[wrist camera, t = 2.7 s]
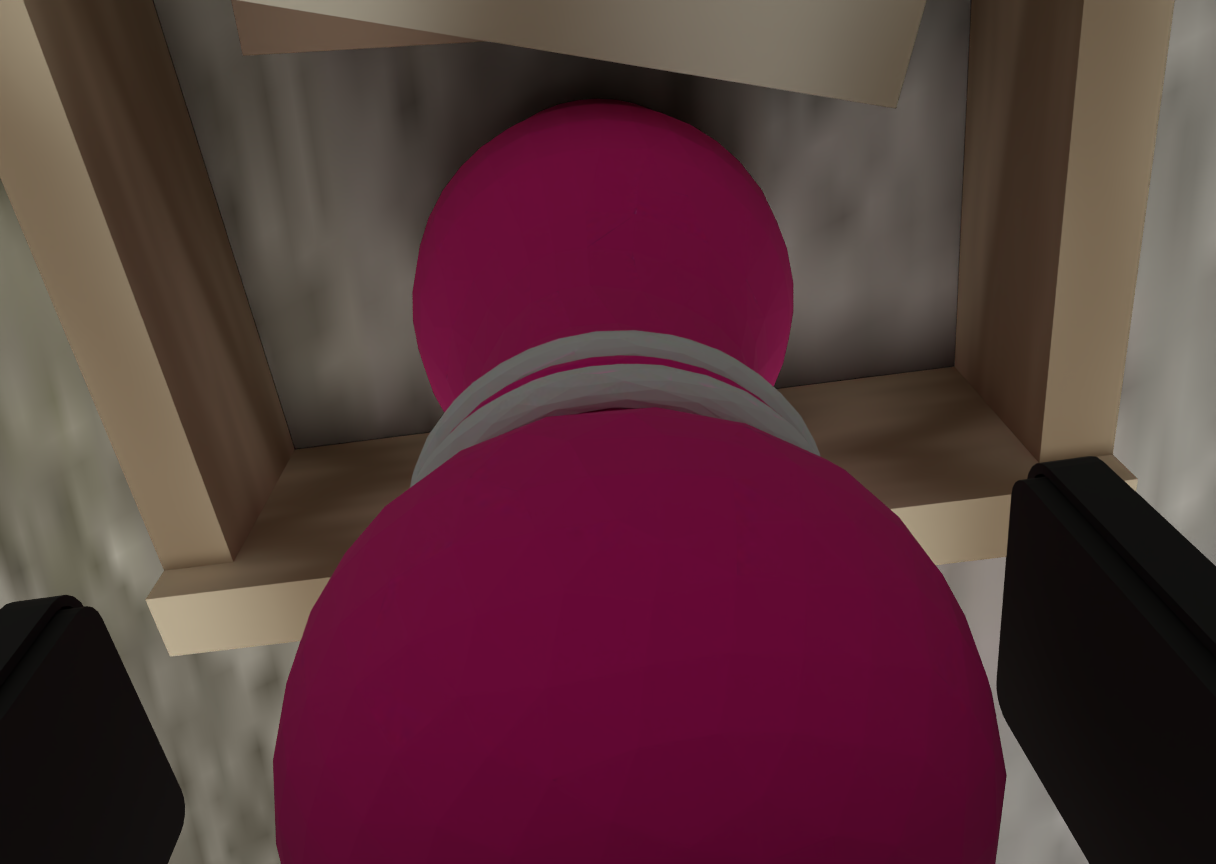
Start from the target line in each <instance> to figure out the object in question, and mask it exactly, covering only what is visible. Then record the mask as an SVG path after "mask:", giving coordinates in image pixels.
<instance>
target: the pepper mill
mask: <svg viewBox="0 0 1216 864" xmlns="http://www.w3.org/2000/svg"><path fill="white" fill-rule="evenodd" d="M792 316H793V279H792V273H791V268H790V262H789V257H788V252H787V247H786V245H785V242H784V239H783V237H782V234H781V231H780V229H779V226H778V223H777V221H776V219H775V217H774V215H773V213H772V210H771V208H770V206H769V204H768V202H767V200H766V198H765V196H764V194H763V192H762V190H761V188H760V187H759V186H758V185H757V183H756V182H755V181H754V179H753V178H752V177H751V176H750V174H749V173H748V172H747V170H746V169H745V168H744V167H743V165H742V164H741V163H740V162H739V161H738V160H737V159H736V158H735V157H734V156H733V155H732V154H731V153H729V152H728V151H727V150H726V149H725V148H724V147H723V146H722V145H721V144H719V143H718V142H717V141H716V140H714V139H712V138H711V137H709V136H708V135H706V134H704V133H703V132H701V131H700V130H698V129H696V128H695V127H693V126H692V125H690V124H688V123H685V122H683V121H680V120H678V119H675V118H673V117H670V116H668V115H665V114H663V113H660V112H657V111H653V110H652V109H649V108H646V107H643V106H640V105H637V104H634V103H629V102H625V101H620V100H612V99H586V100H576V101H572V102H567V103H562V104H559V105H556V106H553V107H551V108H548V109H545V110H543V111H540V112H538V113H537V114H535V115H533V116H531V117H529V118H527V119H526V120H524V121H522V122H520V123H517V124H516V125H514V126H512V127H510V128H508V129H507V130H505V131H504V132H502V133H501V134H499V135H498V136H496V137H495V138H494V139H492V140H491V141H489V142H488V143H486V144H485V145H483V146H482V147H481V148H480V149H479V150H478V151H477V152H476V153H475V154H473V155H472V156H471V157H470V158H469V159H468V160H467V161H466V162H465V163H464V164H463V165H462V166H461V167H460V168H459V170H458V171H457V172H456V174H455V175H454V176H453V178H452V179H451V180H450V182H449V183H448V184H447V186H446V187H445V188H444V190H443V191H442V193H441V195H440V197H439V199H438V201H437V203H436V205H435V206H434V208H433V210H432V212H431V214H430V216H429V218H428V222H427V225H426V228H425V231H424V235H423V238H422V241H421V244H420V248H419V255H418V261H417V267H416V274H415V280H414V286H413V323H414V328H415V333H416V339H417V344H418V349H419V352H420V355H421V358H422V361H423V364H424V368H425V370H426V373H427V376H428V379H429V382H430V384H431V387H432V390H433V393H434V395H435V397H436V398H437V400H438V402H439V404H440V406H441V407H442V409H443V411H444V412H445V413H444V414H443V415H442V417H441V418H440V420H439V421H438V423H437V424H436V425H435V427H434V428H433V430H432V431H431V432H430V434H429V435H428V437H427V439H426V442H425V444H424V447H423V449H422V451H421V454H420V456H419V459H418V461H417V464H416V466H415V469H414V472H413V475H412V480H411V485H410V488H409V489H408V490H406V491H405V492H404V493H402V494H401V495H400V496H398V497H397V498H396V499H394V500H393V501H392V502H390V503H389V504H387V505H386V506H385V507H384V508H383V509H382V510H381V512H380V513H379V514H378V515H377V516H376V517H375V519H374V520H373V521H372V522H371V523H370V524H369V526H368V527H367V528H366V529H365V530H364V532H363V533H362V534H361V535H360V536H359V537H358V539H357V540H356V541H355V542H354V543H353V544H352V546H351V547H350V548H349V549H348V550H347V551H346V553H345V554H344V556H343V557H342V559H341V561H340V563H339V564H338V566H337V568H336V569H335V571H334V573H333V574H332V576H331V578H330V579H329V581H328V583H327V584H326V586H325V588H324V590H323V591H322V593H321V595H320V596H319V598H318V600H317V601H316V603H315V605H314V606H313V608H312V610H311V612H310V614H309V617H308V620H307V623H306V626H305V629H304V632H303V635H302V638H301V641H300V644H299V647H298V650H297V653H296V656H295V659H294V662H293V665H292V668H291V671H290V674H289V677H288V680H287V683H286V689H285V695H284V701H283V706H282V712H281V718H280V724H279V729H278V735H277V741H276V747H275V752H274V758H273V773H274V799H275V825H276V845H277V849H278V853H279V857H280V861H281V864H995V862H996V854H997V846H998V838H999V830H1000V823H1001V815H1002V807H1003V799H1004V791H1005V783H1006V776H1007V775H1006V770H1005V764H1004V758H1003V753H1002V747H1001V741H1000V736H999V730H998V725H997V719H996V713H995V708H994V702H993V696H992V692H991V688H990V685H989V681H988V678H987V675H986V672H985V670H984V667H983V664H982V661H981V658H980V656H979V653H978V650H977V647H976V645H975V642H974V639H973V636H972V634H971V631H970V628H969V625H968V623H967V620H966V617H965V615H964V613H963V611H962V609H961V608H960V606H959V604H958V602H957V600H956V598H955V597H954V595H953V593H952V591H951V589H950V587H949V586H948V584H947V582H946V580H945V578H944V576H943V575H942V573H941V572H940V571H939V569H938V568H937V567H936V565H935V564H934V563H933V561H932V560H931V559H930V557H929V556H928V555H927V553H926V552H925V551H924V549H923V548H922V547H921V545H920V544H919V543H918V541H917V540H916V539H915V537H914V536H913V535H912V533H911V532H910V531H909V529H908V528H907V527H906V525H905V524H904V523H903V521H902V520H901V519H900V517H899V516H897V515H896V514H895V513H894V512H893V511H892V510H891V509H889V508H888V507H887V506H886V505H885V504H884V503H883V502H881V501H880V500H879V499H878V498H877V497H876V496H874V495H873V494H872V493H871V492H870V491H869V490H868V489H866V488H865V487H864V486H863V485H862V484H861V483H860V482H858V481H857V480H856V479H855V478H854V477H853V476H852V475H850V474H849V473H848V472H847V471H846V470H845V469H843V468H841V467H839V466H838V465H836V464H834V463H832V462H830V461H828V460H827V459H825V458H822V457H821V456H820V453H819V451H818V448H817V445H816V443H815V440H814V439H813V437H812V435H811V433H810V432H809V430H808V428H807V426H806V424H805V423H804V421H803V419H802V417H801V415H800V414H799V413H798V412H797V411H796V410H795V409H794V407H793V406H792V405H791V404H790V403H789V402H788V401H787V400H786V398H785V397H784V396H783V395H782V394H781V393H780V392H779V391H778V390H777V389H776V388H774V384H775V382H776V380H777V377H778V375H779V372H780V370H781V367H782V365H783V361H784V357H785V353H786V348H787V344H788V340H789V334H790V328H791V322H792Z"/></svg>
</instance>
